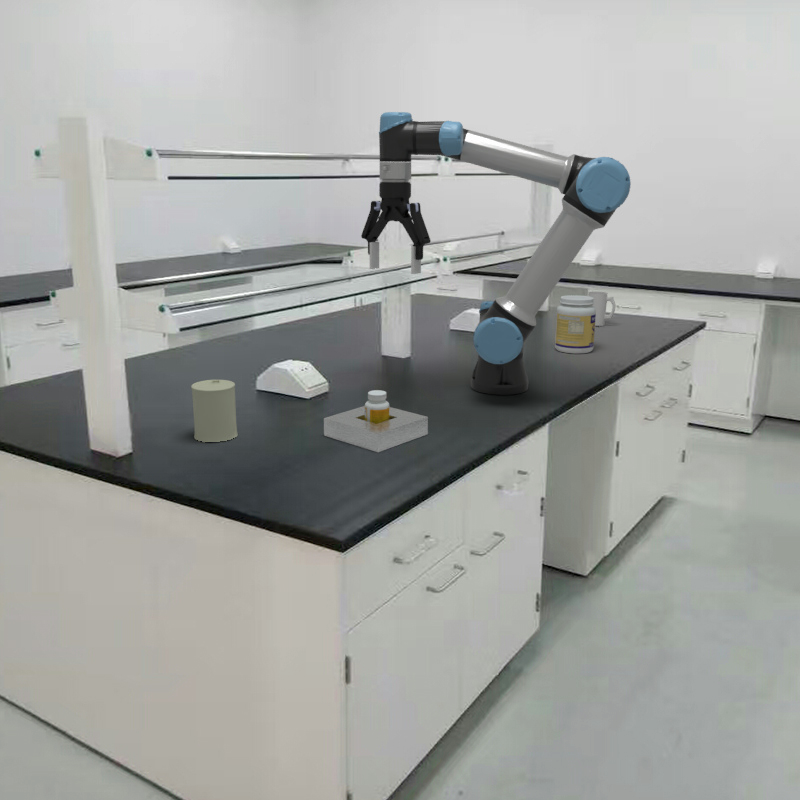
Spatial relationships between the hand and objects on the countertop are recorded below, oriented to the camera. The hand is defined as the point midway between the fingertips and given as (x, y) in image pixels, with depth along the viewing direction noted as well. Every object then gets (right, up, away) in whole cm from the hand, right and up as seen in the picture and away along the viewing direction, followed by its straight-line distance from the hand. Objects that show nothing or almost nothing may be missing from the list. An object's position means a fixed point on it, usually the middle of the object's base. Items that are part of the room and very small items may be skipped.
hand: (394, 271), depth 203 cm
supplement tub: (+57, -16, +62) cm, 85 cm away
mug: (+75, -4, +102) cm, 126 cm away
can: (-39, -40, -23) cm, 60 cm away
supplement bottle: (-4, -39, -21) cm, 45 cm away
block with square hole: (-4, -39, -21) cm, 45 cm away
